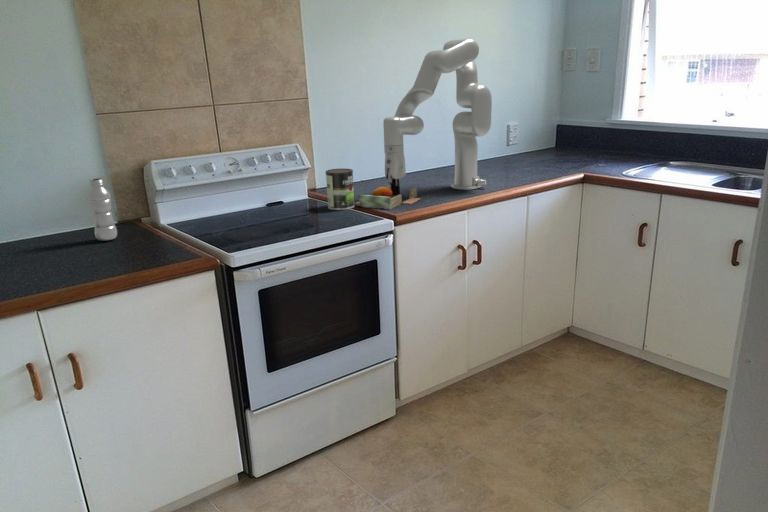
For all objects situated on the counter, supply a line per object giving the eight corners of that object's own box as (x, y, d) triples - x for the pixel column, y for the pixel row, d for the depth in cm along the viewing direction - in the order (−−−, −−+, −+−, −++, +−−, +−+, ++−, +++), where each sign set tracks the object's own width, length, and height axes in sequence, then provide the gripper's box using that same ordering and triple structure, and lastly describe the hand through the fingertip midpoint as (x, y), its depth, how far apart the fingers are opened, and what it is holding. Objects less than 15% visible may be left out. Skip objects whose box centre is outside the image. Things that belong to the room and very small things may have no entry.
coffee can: (359, 205, 226) (358, 169, 222) (344, 211, 218) (342, 173, 214) (338, 203, 232) (336, 167, 227) (322, 208, 223) (319, 171, 219)
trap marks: (420, 199, 233) (420, 198, 232) (403, 208, 219) (403, 207, 219) (374, 195, 242) (374, 194, 242) (354, 204, 229) (354, 203, 229)
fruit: (378, 205, 220) (373, 185, 221) (372, 211, 227) (367, 192, 228) (398, 202, 223) (393, 182, 224) (391, 209, 230) (386, 190, 231)
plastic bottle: (100, 237, 195) (89, 178, 188) (121, 236, 195) (110, 177, 189) (93, 243, 188) (80, 181, 182) (114, 242, 189) (103, 180, 183)
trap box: (416, 196, 239) (416, 185, 237) (390, 209, 218) (389, 197, 217) (388, 193, 244) (388, 183, 243) (359, 206, 224) (359, 195, 223)
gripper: (394, 152, 222) (395, 199, 227) (410, 146, 234) (411, 192, 240) (376, 151, 225) (378, 198, 231) (393, 146, 238) (395, 190, 243)
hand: (395, 195), depth 235 cm, fingers closed
